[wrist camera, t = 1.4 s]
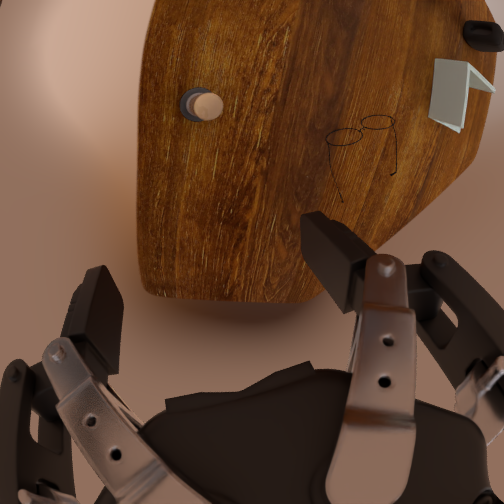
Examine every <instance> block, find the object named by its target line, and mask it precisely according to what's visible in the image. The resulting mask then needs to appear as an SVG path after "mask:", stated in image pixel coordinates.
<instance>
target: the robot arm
mask: <svg viewBox="0 0 504 504" xmlns="http://www.w3.org/2000/svg"><path fill="white" fill-rule="evenodd" d="M300 230H301V251H302V255H303V258H304V260H305V262H306V263H307V264H308V266H309V267H310V268H311V270H312V271H313V272H314V274H315V275H316V277H317V278H318V279H319V281H320V282H321V283H322V285H323V286H324V287H325V289H326V290H327V291H328V293H329V294H330V296H331V297H332V298H333V300H334V301H335V303H336V304H337V306H338V307H339V308H340V310H341V311H342V312H343V314H345V313H348V312H351V311H353V310H354V311H355V312H356V314H357V315H356V320H355V326H354V332H353V338H352V344H351V350H350V355H349V360H348V364H347V368H346V371H341V370H336V369H315V370H314V368H313V366H312V365H311V363H310V361H306V362H304V363H301V364H298V365H295V366H292V367H289V368H286V369H283V370H280V371H277V372H274V373H273V374H271V375H269V376H267V377H266V378H264V379H262V380H260V381H259V382H257V383H255V384H253V385H251V386H249V387H248V388H246V389H244V390H242V391H239V392H199V393H194V394H189V395H184V396H179V397H174V398H169V399H165V404H166V410H164V411H162V412H160V413H158V414H157V415H155V416H154V417H152V418H151V419H150V420H148V421H147V422H146V423H144V422H143V421H141V419H140V418H138V416H137V415H136V414H135V413H134V412H133V411H132V410H131V409H130V408H129V407H128V405H127V404H126V403H125V402H124V401H123V400H122V398H121V397H120V396H119V395H118V394H117V392H116V391H115V390H114V389H113V388H112V386H111V385H110V384H109V383H108V375H114V374H118V373H119V355H120V340H121V329H122V320H123V310H124V304H123V299H122V296H121V294H120V292H119V290H118V288H117V286H116V284H115V282H114V280H113V278H112V276H111V274H110V272H109V270H108V269H107V267H106V266H105V265H102V266H98V267H94V268H91V269H88V270H87V272H86V274H85V277H84V280H83V283H82V284H80V285H79V286H78V288H77V289H76V291H75V292H74V293H73V296H72V299H71V302H70V304H71V305H69V308H68V313H67V315H66V318H65V321H64V325H63V328H62V332H61V336H60V338H57V339H55V340H54V341H52V342H51V343H50V344H49V345H48V346H47V348H46V349H45V351H44V353H43V356H42V361H41V362H39V363H37V364H35V365H33V366H31V367H29V366H28V365H27V364H26V363H25V362H24V361H23V360H22V359H16V360H14V361H12V362H11V363H10V364H9V365H8V366H7V368H6V369H5V371H4V374H3V378H2V382H1V387H0V504H80V503H79V502H78V500H77V499H76V494H75V486H74V478H73V467H72V451H71V450H72V449H71V437H72V438H73V440H74V442H75V443H76V445H77V446H78V448H79V449H80V451H81V452H82V454H83V455H84V457H85V458H86V460H87V461H88V463H89V464H90V466H91V467H92V469H93V470H94V471H95V472H96V474H97V475H98V477H99V478H100V479H101V481H102V482H103V483H104V485H105V486H104V488H103V490H102V491H101V493H100V495H99V496H98V498H97V500H96V501H95V503H94V504H504V503H503V502H502V501H501V500H500V499H499V498H498V497H497V496H496V495H495V494H494V493H493V491H492V489H491V486H490V482H489V478H488V470H487V445H489V444H490V443H491V442H492V441H493V440H494V439H495V438H496V437H497V436H498V435H499V434H500V433H501V432H502V431H503V430H504V310H503V309H502V308H501V306H500V305H499V304H498V303H497V302H496V301H495V300H494V299H493V298H492V297H491V296H490V294H489V293H488V292H487V291H486V290H485V289H484V288H483V287H482V286H481V285H480V284H479V283H478V282H477V281H476V280H475V279H474V278H473V277H472V276H471V275H470V274H469V273H468V272H466V270H464V269H463V268H462V267H461V266H460V265H459V264H458V263H457V262H456V261H455V260H454V259H453V258H451V257H450V256H449V255H447V254H446V253H443V252H440V251H434V250H433V251H428V252H426V253H425V254H424V255H423V258H422V262H421V264H412V265H404V263H403V262H402V261H401V260H400V259H398V258H396V257H394V256H392V255H388V254H376V253H375V252H374V251H373V250H372V249H371V248H370V247H369V246H368V245H367V244H366V243H365V242H364V241H362V240H361V239H360V238H359V237H357V235H356V234H355V233H354V232H352V231H351V230H350V229H349V228H348V227H347V226H346V225H344V224H343V223H340V222H338V221H336V220H330V219H328V218H327V217H326V216H325V215H324V214H323V213H322V212H320V211H315V212H311V213H306V214H302V215H301V217H300ZM443 301H444V302H445V303H446V304H447V305H448V306H449V307H450V308H451V310H452V311H453V312H454V313H455V314H456V316H457V319H458V327H457V328H456V327H455V325H454V324H453V323H452V322H451V320H450V319H449V318H448V317H447V315H446V314H445V313H444V312H443V311H442V309H441V306H442V303H443ZM416 333H417V334H418V336H419V337H420V339H421V340H422V341H423V343H424V344H425V346H426V347H427V348H428V350H429V351H430V353H431V354H432V356H433V357H434V359H435V360H436V361H437V363H438V364H439V366H440V367H441V369H442V370H443V372H444V373H445V375H446V376H447V378H448V380H449V381H450V383H451V384H452V386H453V387H454V389H455V390H456V393H455V400H456V403H455V405H454V410H455V412H456V413H455V412H452V411H449V410H446V409H443V408H440V407H437V406H435V405H432V404H429V403H426V402H423V401H421V400H417V399H415V388H416V365H417V363H416V362H417V359H416V358H417V341H416ZM31 410H32V411H34V412H35V413H36V414H38V415H39V426H38V443H37V442H35V441H34V440H33V438H32V436H31V434H30V417H31Z"/></svg>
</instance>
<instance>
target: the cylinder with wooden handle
mask: <svg viewBox="0 0 504 504" xmlns="http://www.w3.org/2000/svg"><path fill="white" fill-rule="evenodd" d="M179 107H180V110H181V112H182V114H183V115H184V117H186V118H187V119H188V120H191V121H196V122H199V121H203V120H207V121H208V120H213V119H215V118H217V117H218V116H219V115H220V114H221V113H222V110H223V102H222V100H221V98H220V97H219V96H218V95H216V94H214V93H212V92H211V91H209V90H208V89H205V88H201V87H197V88H193V89H190V90H188V91H187V92H186V93H184V94H183V96H182V97H181V99H180V102H179Z"/></svg>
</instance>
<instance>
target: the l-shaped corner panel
mask: <svg viewBox="0 0 504 504" xmlns="http://www.w3.org/2000/svg"><path fill="white" fill-rule="evenodd" d="M469 87H471V88H475V89H479V90H483V91H487V92H491V93H495V88H494V87H493V86H492V85H491V84H490V83H489V82H488V81H487V80H486V79H485V78H484V77H483V76H482V75H481V74H480V73H479V72H478V71H477V70H476V69H475V68H474V67H473V66H472V65H470V64H469V63H468V62H463V61H456V60H447V59H436V58H435V66H434V77H433V87H432V95H431V102H430V109H429V115H428V117H429V118H431V119H433V120H435V121H437V122H439V123H441V124H443V125H445V126H447V127H449V128H451V129H453V130H455V131H457V132H458V133H460V129H461V128H463V126H464V120H465V113H466V106H467V99H468V89H469Z"/></svg>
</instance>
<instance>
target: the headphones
mask: <svg viewBox="0 0 504 504" xmlns="http://www.w3.org/2000/svg"><path fill="white" fill-rule="evenodd" d="M463 36H464V38H465V40H466V42H467V43H468V44H470V46H471V47H472V48H474V49H475V50H478V51H482V52H501V51H503V50H504V32H503V30H502V29H501V27H500V26H499V25H498V24H497V23H494V22H486V21H474V20H469V21H466V22H465V25H464V31H463Z"/></svg>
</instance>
